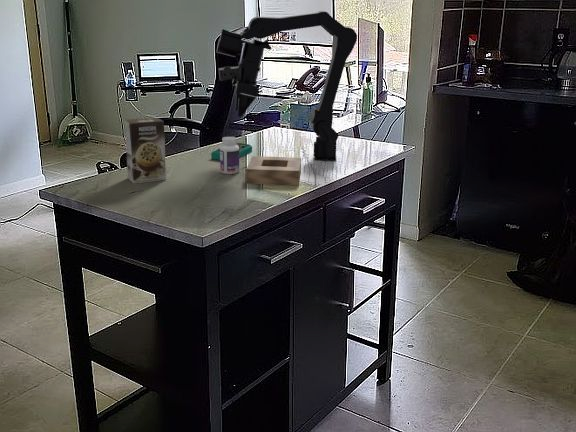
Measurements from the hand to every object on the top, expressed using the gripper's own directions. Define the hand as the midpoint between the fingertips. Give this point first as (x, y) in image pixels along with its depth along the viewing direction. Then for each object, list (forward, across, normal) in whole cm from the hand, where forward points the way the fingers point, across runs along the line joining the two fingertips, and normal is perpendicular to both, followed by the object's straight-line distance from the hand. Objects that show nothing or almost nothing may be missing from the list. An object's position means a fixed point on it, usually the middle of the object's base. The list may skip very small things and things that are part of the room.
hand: (238, 113), depth 189 cm
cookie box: (+20, +19, -22) cm, 35 cm away
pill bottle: (+15, +13, 0) cm, 20 cm away
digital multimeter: (+15, -6, +2) cm, 16 cm away
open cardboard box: (+12, +20, +12) cm, 26 cm away
